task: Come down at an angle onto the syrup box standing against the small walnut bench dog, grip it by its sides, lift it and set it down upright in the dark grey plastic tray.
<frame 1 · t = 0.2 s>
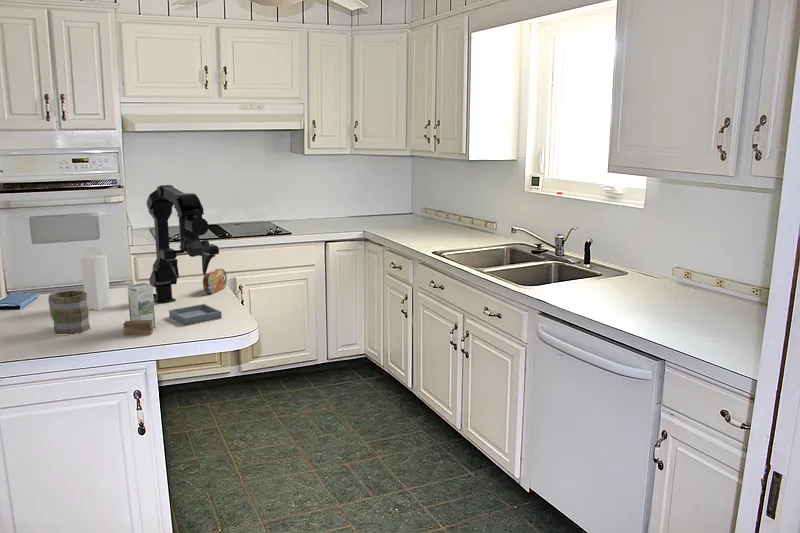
hand: (191, 276, 231), 14 cm above the countertop, tool pointing down, fingers open, 9 cm apart
syrup box: (143, 328, 221), on the countertop
mug: (67, 329, 220), on the countertop
tray: (195, 317, 232), on the countertop
milk: (98, 308, 245), on the countertop
tin: (215, 291, 269), on the countertop
bench dog: (138, 333, 215), on the countertop
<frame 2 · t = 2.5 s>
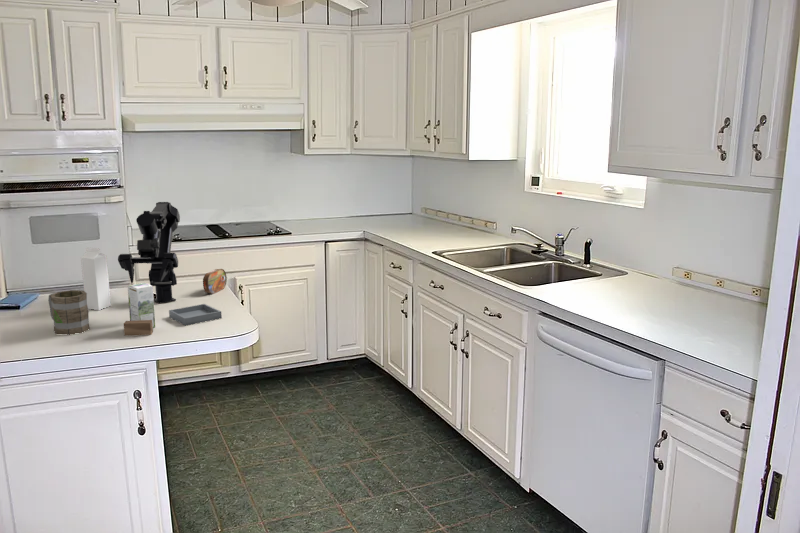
hand: (146, 281, 226), 13 cm above the countertop, tool tilted 45°, fingers open, 9 cm apart
nothing on the countertop moved.
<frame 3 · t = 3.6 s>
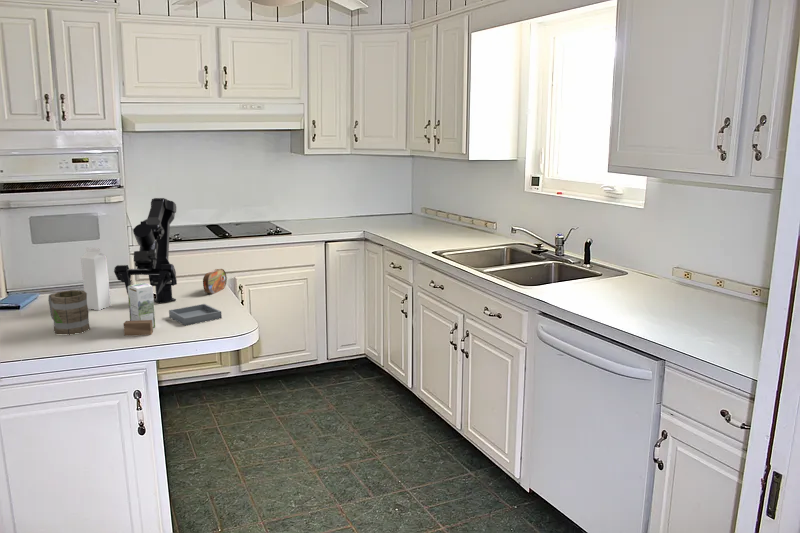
hand: (142, 293, 222), 11 cm above the countertop, tool tilted 45°, fingers open, 9 cm apart
nothing on the countertop moved.
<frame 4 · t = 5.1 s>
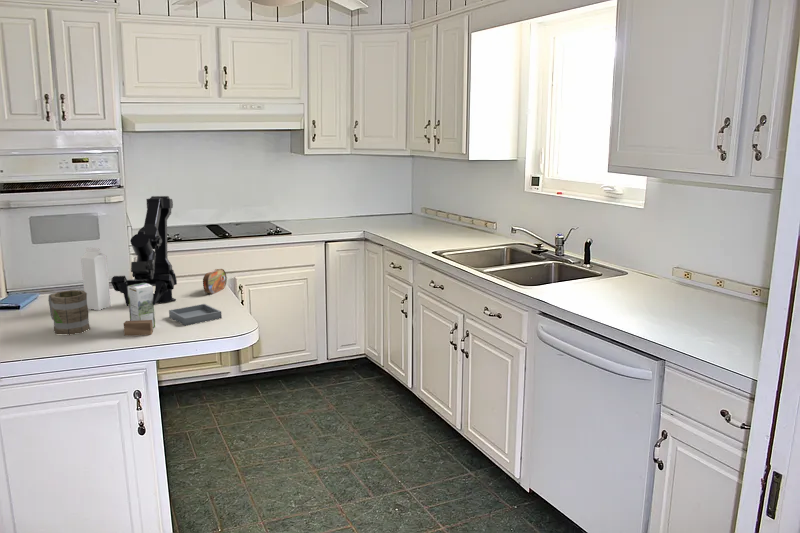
hand: (140, 305, 218), 8 cm above the countertop, tool tilted 45°, fingers closed on syrup box, 8 cm apart
syrup box: (143, 328, 221), on the countertop, touching gripper
everything else where it was.
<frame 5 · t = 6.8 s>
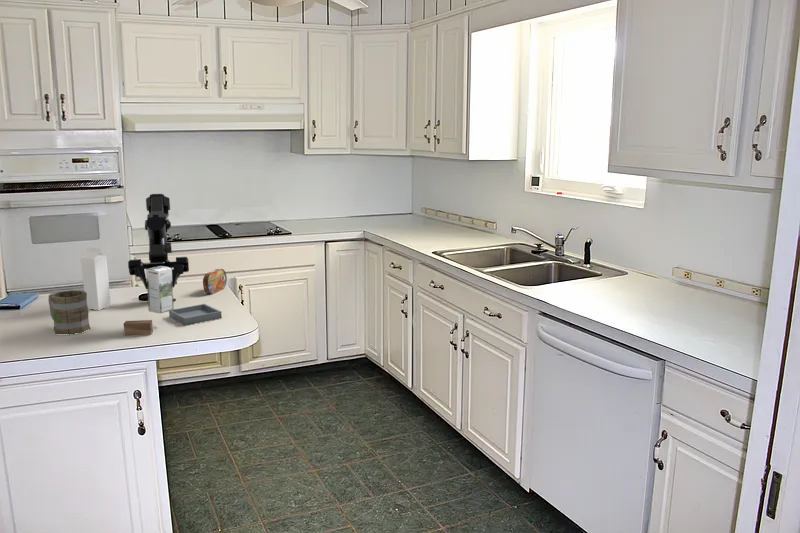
hand: (160, 287, 220), 13 cm above the countertop, tool tilted 45°, fingers closed on syrup box, 8 cm apart
syrup box: (161, 311, 223), point 5 cm above the countertop, touching gripper
everything else where it was.
when the fingers open (10 cm above the countertop, at t = 8.8 s): syrup box stays where it is, resting on tray.
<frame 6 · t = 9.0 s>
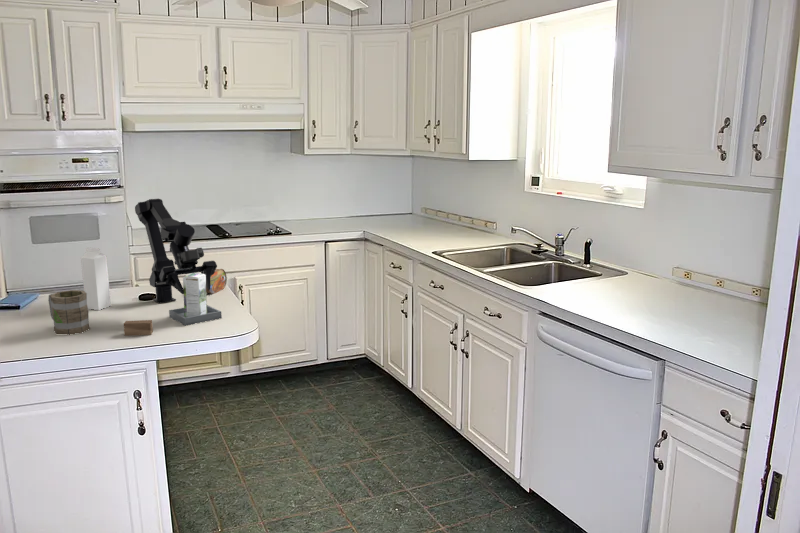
hand: (196, 291, 229), 10 cm above the countertop, tool tilted 45°, fingers open, 9 cm apart
syrup box: (196, 316, 232), point 1 cm above the countertop, touching tray
everything else where it was.
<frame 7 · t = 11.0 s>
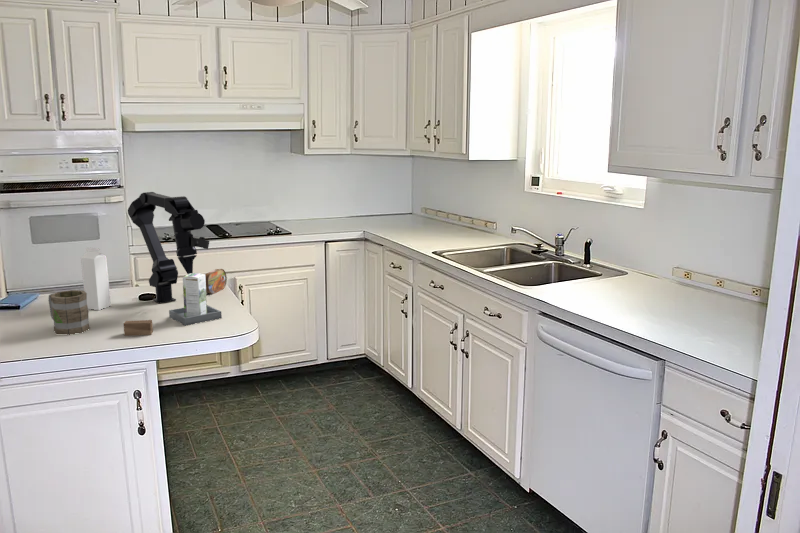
hand: (190, 275, 241), 12 cm above the countertop, tool pointing down, fingers open, 9 cm apart
nothing on the countertop moved.
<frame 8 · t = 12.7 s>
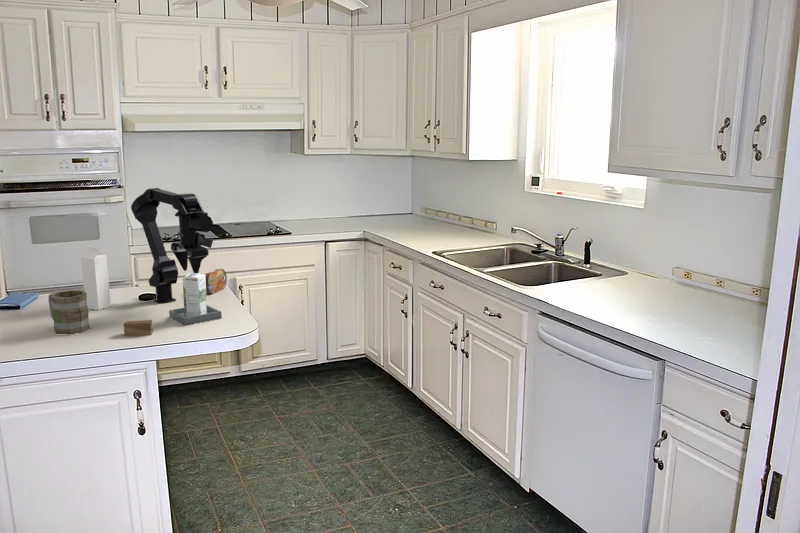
hand: (190, 272, 243), 13 cm above the countertop, tool pointing down, fingers open, 9 cm apart
nothing on the countertop moved.
at the end: syrup box inside the target area on the tray (0.8 cm from its centre), point 0.6 cm above the tray's base; syrup box tilted 0°; the gripper is holding nothing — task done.
